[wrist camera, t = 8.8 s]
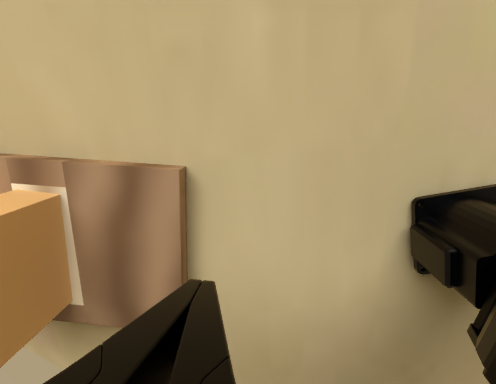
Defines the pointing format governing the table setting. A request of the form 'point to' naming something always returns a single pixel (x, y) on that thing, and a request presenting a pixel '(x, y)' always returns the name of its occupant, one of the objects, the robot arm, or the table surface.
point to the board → (112, 231)
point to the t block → (30, 267)
